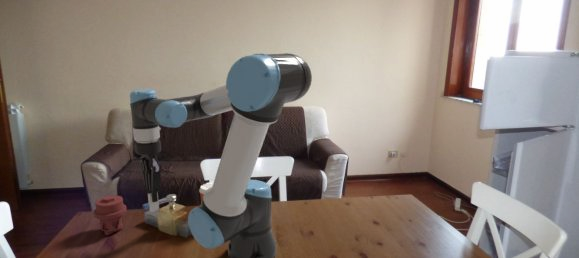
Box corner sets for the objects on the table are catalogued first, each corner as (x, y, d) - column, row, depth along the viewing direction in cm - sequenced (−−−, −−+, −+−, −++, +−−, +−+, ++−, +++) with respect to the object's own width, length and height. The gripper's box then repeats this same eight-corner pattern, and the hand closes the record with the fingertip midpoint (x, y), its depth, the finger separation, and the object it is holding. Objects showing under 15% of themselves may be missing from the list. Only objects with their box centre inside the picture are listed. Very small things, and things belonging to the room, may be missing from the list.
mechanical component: (134, 225, 130) (115, 239, 121) (109, 222, 132) (89, 236, 123) (131, 193, 127) (112, 205, 118) (105, 190, 129) (85, 202, 120)
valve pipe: (197, 230, 127) (195, 202, 124) (183, 239, 121) (181, 209, 119) (156, 217, 136) (154, 190, 134) (142, 224, 131) (139, 196, 128)
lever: (178, 199, 126) (178, 195, 125) (146, 211, 117) (146, 207, 117) (173, 197, 128) (172, 193, 127) (141, 208, 119) (141, 204, 119)
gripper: (167, 142, 111) (173, 213, 117) (151, 133, 121) (158, 200, 126) (142, 146, 106) (150, 220, 112) (128, 137, 116) (135, 206, 122)
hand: (154, 209), depth 119 cm, fingers closed
